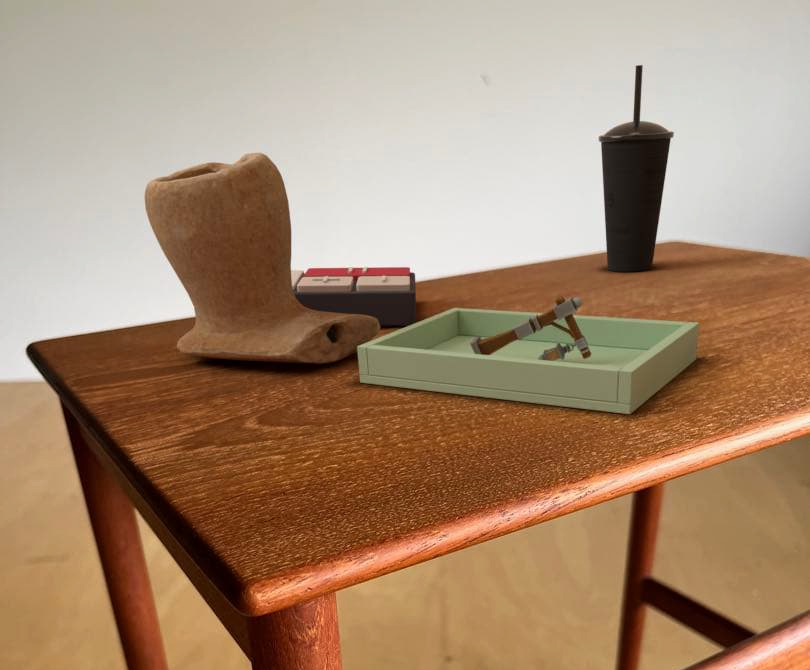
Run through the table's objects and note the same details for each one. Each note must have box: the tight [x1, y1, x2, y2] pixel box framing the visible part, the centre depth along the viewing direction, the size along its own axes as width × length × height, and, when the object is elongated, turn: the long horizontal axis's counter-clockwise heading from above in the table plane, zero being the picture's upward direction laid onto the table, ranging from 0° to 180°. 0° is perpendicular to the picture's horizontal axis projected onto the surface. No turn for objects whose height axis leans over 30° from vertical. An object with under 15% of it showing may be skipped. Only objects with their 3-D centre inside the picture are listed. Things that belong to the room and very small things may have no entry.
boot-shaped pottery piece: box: [144, 152, 381, 365], centre depth 66 cm, size 15×12×15 cm
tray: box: [356, 307, 700, 415], centre depth 61 cm, size 20×14×3 cm
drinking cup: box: [598, 64, 675, 273], centre depth 94 cm, size 8×8×20 cm
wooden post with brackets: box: [470, 295, 591, 361], centre depth 61 cm, size 2×8×4 cm, turn 74°
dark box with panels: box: [291, 266, 417, 327], centre depth 82 cm, size 11×4×15 cm
